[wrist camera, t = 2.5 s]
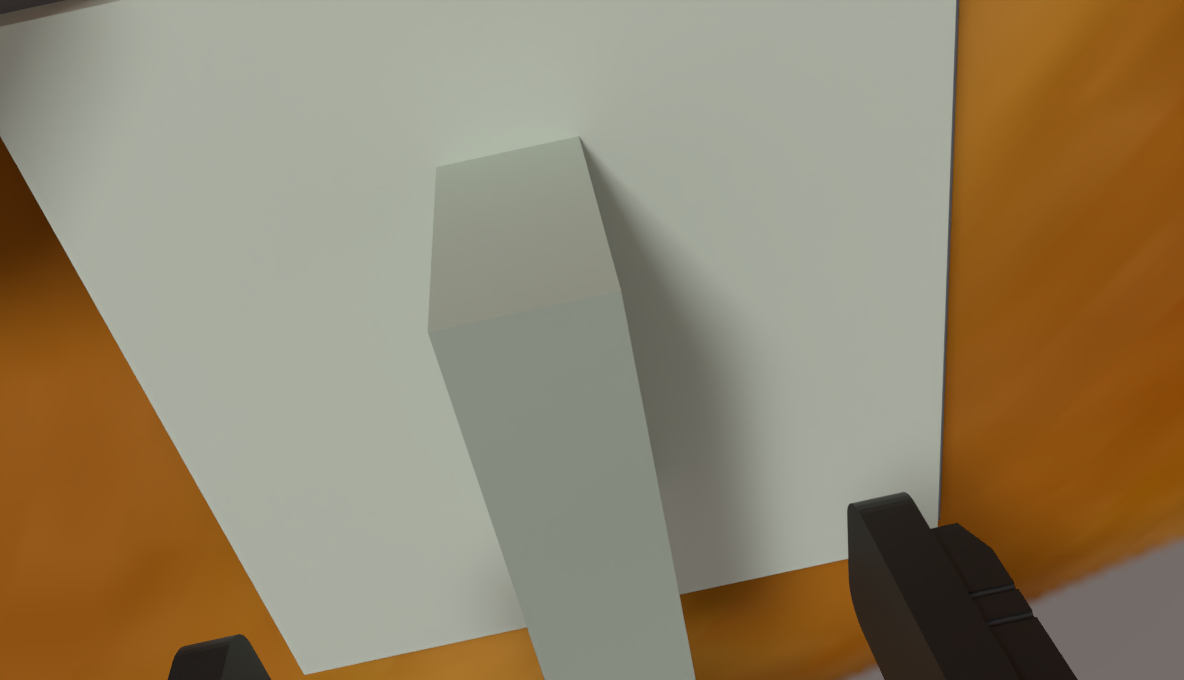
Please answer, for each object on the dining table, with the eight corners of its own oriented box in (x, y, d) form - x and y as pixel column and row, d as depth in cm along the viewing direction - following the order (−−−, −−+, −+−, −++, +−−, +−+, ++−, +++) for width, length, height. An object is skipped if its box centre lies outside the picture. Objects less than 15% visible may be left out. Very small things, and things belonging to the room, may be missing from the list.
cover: (934, -190, 15) (1178, -135, 10) (919, 509, 23) (1046, 731, 18) (-26, 20, 15) (-274, 182, 10) (309, 640, 23) (268, 896, 18)
